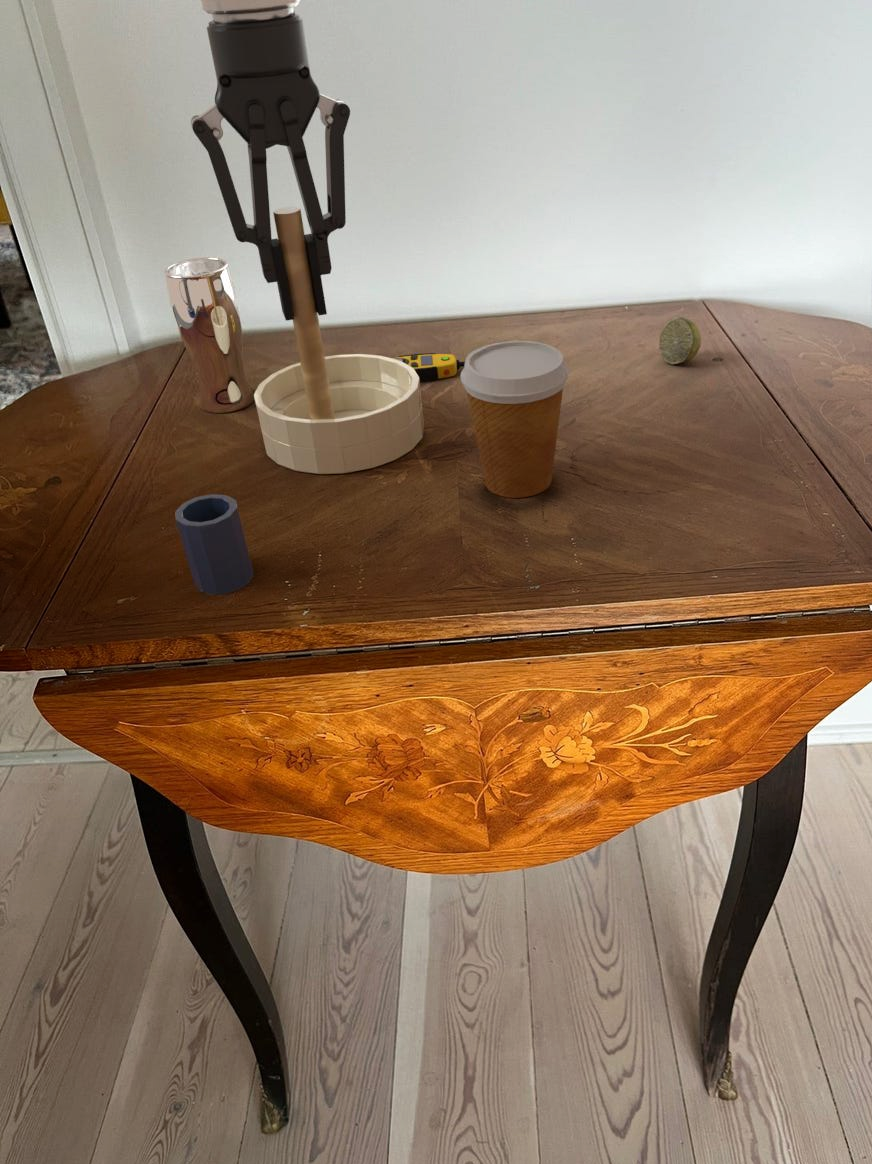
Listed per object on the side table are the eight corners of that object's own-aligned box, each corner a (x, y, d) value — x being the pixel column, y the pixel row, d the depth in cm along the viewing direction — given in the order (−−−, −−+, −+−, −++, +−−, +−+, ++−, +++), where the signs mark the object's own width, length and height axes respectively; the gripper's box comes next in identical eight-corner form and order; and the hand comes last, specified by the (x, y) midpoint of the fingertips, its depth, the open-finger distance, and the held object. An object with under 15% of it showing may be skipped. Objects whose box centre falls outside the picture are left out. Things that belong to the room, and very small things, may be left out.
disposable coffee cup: (543, 449, 95) (541, 331, 87) (585, 492, 88) (587, 368, 80) (453, 470, 92) (444, 351, 85) (490, 516, 85) (482, 390, 78)
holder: (198, 603, 77) (176, 530, 73) (195, 572, 81) (174, 500, 76) (257, 591, 78) (239, 518, 74) (251, 561, 82) (234, 489, 77)
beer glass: (240, 383, 112) (210, 252, 103) (269, 401, 108) (241, 265, 98) (186, 402, 109) (150, 268, 99) (214, 420, 104) (179, 282, 95)
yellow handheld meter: (378, 353, 112) (505, 343, 112) (380, 369, 113) (506, 358, 113) (378, 370, 108) (509, 358, 108) (380, 386, 109) (509, 375, 110)
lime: (696, 370, 108) (700, 326, 105) (654, 367, 109) (656, 324, 106) (702, 355, 111) (705, 312, 108) (660, 352, 112) (663, 310, 109)
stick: (312, 427, 95) (274, 215, 82) (309, 418, 97) (271, 208, 84) (336, 423, 95) (302, 211, 83) (332, 413, 97) (298, 205, 85)
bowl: (275, 492, 91) (263, 434, 87) (258, 422, 104) (247, 369, 100) (441, 461, 94) (436, 404, 90) (405, 396, 107) (399, 344, 103)
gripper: (341, 1, 79) (376, 288, 93) (151, 19, 76) (218, 312, 91) (358, 8, 73) (393, 313, 88) (153, 28, 70) (224, 339, 85)
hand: (304, 312), depth 89 cm, fingers closed on stick, 2 cm apart
